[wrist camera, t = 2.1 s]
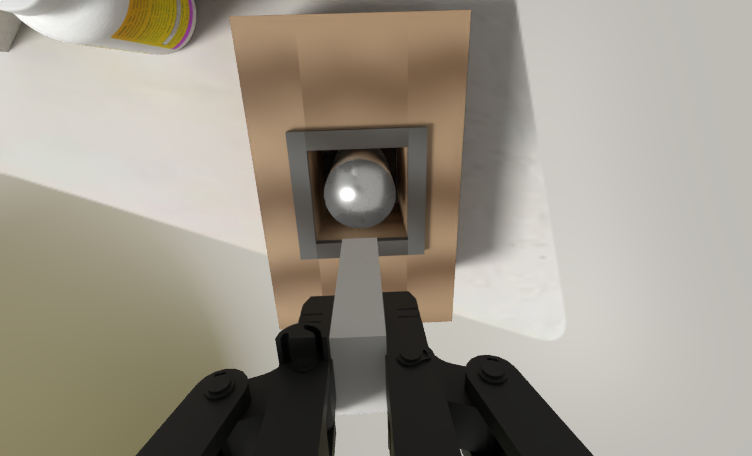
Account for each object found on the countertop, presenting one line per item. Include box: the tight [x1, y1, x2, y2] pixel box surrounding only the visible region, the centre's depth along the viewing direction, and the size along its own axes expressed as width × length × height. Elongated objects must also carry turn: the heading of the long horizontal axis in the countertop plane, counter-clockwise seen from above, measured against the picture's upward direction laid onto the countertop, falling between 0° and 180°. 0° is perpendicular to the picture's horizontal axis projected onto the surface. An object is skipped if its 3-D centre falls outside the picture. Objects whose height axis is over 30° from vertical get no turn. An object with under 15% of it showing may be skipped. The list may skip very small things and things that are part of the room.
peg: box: [324, 148, 396, 228], centre depth 29 cm, size 5×5×8 cm
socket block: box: [229, 10, 471, 329], centre depth 28 cm, size 22×14×9 cm, turn 2°
